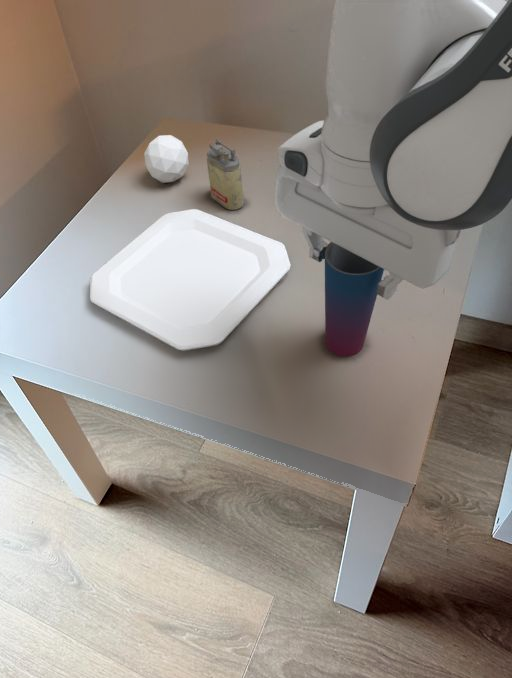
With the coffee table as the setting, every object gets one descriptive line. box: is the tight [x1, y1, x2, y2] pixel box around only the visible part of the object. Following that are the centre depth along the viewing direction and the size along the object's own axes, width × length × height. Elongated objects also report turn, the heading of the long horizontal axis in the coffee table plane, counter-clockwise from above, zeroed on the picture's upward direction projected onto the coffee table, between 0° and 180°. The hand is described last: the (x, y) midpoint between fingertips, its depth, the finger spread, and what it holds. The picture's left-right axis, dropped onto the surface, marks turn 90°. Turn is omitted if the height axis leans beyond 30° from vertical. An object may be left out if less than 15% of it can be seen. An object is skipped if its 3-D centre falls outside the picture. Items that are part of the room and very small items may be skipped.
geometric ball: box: [143, 134, 190, 184], centre depth 95 cm, size 8×8×8 cm
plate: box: [89, 208, 292, 352], centre depth 80 cm, size 25×25×2 cm
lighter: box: [206, 138, 245, 211], centre depth 89 cm, size 7×4×10 cm, turn 37°
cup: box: [324, 241, 385, 357], centre depth 65 cm, size 7×7×15 cm
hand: (350, 275), depth 61 cm, fingers open, 8 cm apart
